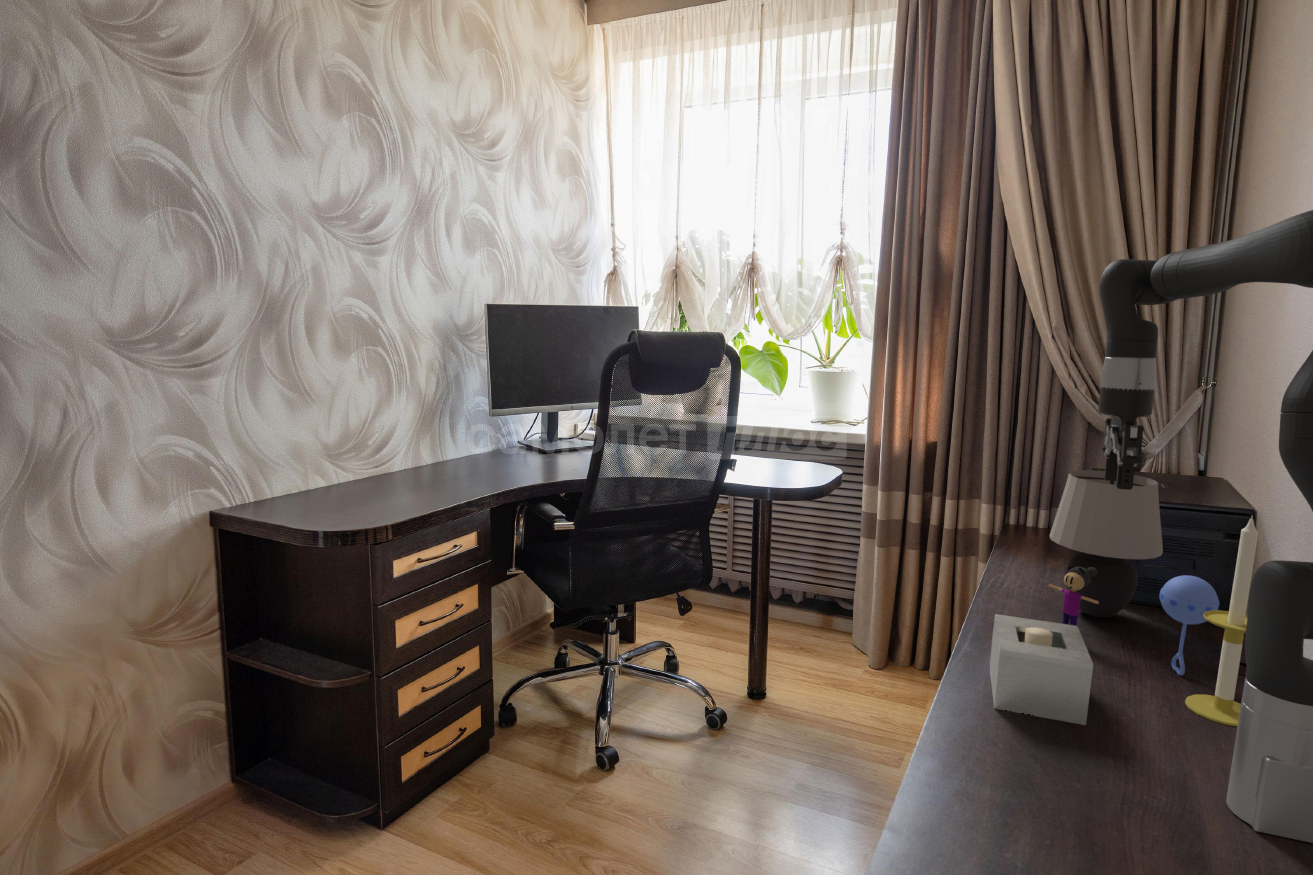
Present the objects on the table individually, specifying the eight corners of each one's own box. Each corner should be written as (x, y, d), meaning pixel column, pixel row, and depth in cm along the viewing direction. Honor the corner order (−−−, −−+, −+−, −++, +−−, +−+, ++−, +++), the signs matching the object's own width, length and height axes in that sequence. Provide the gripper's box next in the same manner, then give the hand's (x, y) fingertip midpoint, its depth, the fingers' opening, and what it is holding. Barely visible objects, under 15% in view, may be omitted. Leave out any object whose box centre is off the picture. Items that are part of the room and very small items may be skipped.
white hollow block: (1085, 725, 119) (1093, 664, 118) (994, 708, 124) (1000, 649, 122) (1070, 680, 134) (1077, 625, 133) (989, 667, 139) (994, 613, 137)
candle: (1205, 723, 121) (1236, 521, 116) (1172, 693, 131) (1199, 505, 125) (1276, 730, 120) (1310, 525, 114) (1237, 698, 129) (1267, 509, 124)
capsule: (1048, 696, 127) (1054, 638, 125) (1021, 692, 128) (1026, 634, 126) (1045, 685, 130) (1051, 629, 129) (1019, 681, 132) (1024, 625, 130)
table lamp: (1171, 638, 153) (1192, 490, 149) (1059, 628, 157) (1076, 483, 152) (1128, 601, 174) (1145, 470, 169) (1029, 593, 177) (1043, 464, 172)
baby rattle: (1217, 687, 133) (1232, 587, 130) (1161, 681, 135) (1175, 582, 132) (1194, 665, 142) (1207, 571, 139) (1141, 660, 143) (1154, 566, 140)
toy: (1037, 631, 155) (1045, 559, 153) (1055, 627, 158) (1063, 556, 155) (1086, 652, 146) (1096, 575, 144) (1104, 647, 149) (1114, 572, 146)
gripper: (1167, 389, 118) (1156, 494, 120) (1142, 384, 131) (1132, 479, 133) (1111, 387, 120) (1101, 490, 122) (1092, 383, 133) (1083, 476, 135)
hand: (1117, 484), depth 127 cm, fingers open, 8 cm apart
